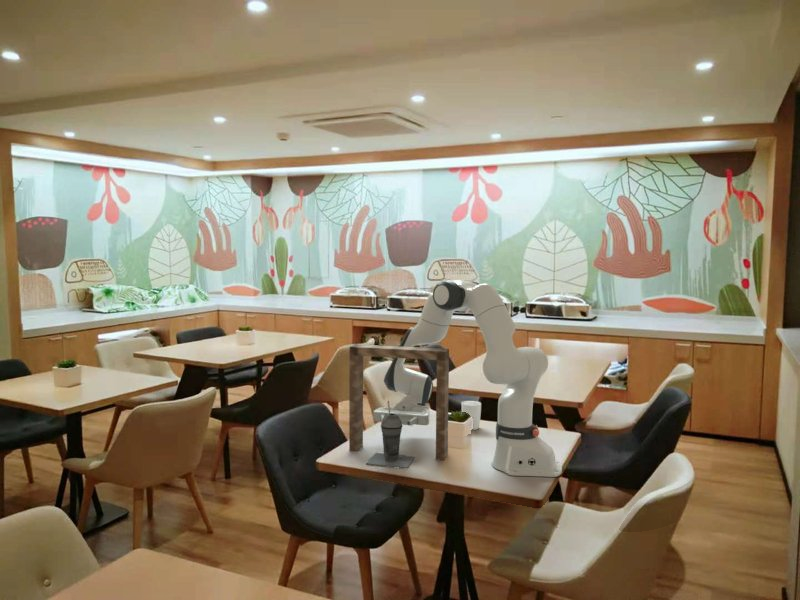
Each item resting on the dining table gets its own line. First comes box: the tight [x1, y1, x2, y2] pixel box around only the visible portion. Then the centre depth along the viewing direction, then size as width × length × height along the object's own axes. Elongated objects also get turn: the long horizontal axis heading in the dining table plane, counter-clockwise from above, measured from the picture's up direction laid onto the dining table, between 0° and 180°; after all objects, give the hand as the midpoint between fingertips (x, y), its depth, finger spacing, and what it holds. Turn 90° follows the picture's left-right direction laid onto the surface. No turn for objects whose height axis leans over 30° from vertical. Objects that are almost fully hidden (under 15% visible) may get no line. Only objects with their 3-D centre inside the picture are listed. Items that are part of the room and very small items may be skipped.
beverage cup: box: [380, 400, 403, 462], centre depth 200 cm, size 7×7×20 cm
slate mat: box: [365, 452, 416, 469], centre depth 201 cm, size 14×11×1 cm
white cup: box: [461, 400, 482, 431], centre depth 240 cm, size 8×8×10 cm
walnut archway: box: [348, 343, 450, 461], centre depth 208 cm, size 34×6×37 cm, turn 75°
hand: (396, 422), depth 206 cm, fingers open, 8 cm apart
